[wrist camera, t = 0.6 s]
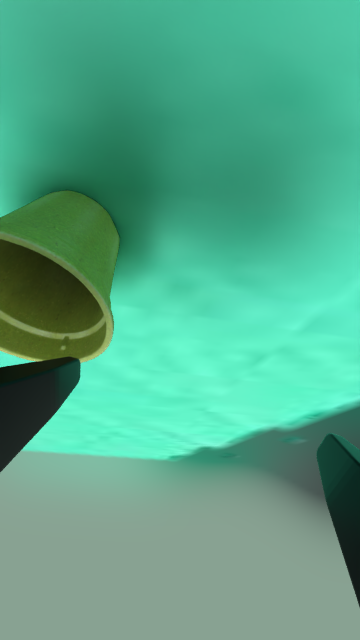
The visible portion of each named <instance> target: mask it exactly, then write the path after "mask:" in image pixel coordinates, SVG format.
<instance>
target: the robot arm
mask: <svg viewBox="0 0 360 640" xmlns="http://www.w3.org/2000/svg"><path fill="white" fill-rule="evenodd" d="M80 364H81V363H80V360H79V359H78V358H74V357H70V356H68V357H62V358H56V359H50V360H43V361H37V362H31V363H25V364H19V365H12V366H6V367H0V472H1V471H2V470H3V469H4V468H5V467H6V466H7V465H8V464H9V463H10V461H11V460H12V459H13V458H14V457H15V456H16V455H17V454H18V453H19V452H20V451H21V450H22V449H23V448H24V446H25V445H26V444H27V443H28V442H29V441H30V440H31V439H32V438H33V437H34V436H35V435H36V434H37V433H38V432H39V430H40V429H41V428H42V427H43V426H44V425H45V424H46V423H47V422H48V421H49V420H50V419H51V418H52V416H53V415H54V414H55V413H56V412H57V411H58V409H59V408H60V407H61V405H62V404H63V403H64V401H65V400H66V399H67V397H68V396H69V395H70V393H71V392H72V391H73V389H74V388H75V387H76V385H77V384H78V382H79V379H80ZM317 461H318V466H319V471H320V476H321V480H322V485H323V490H324V494H325V499H326V502H327V506H328V509H329V512H330V515H331V518H332V521H333V525H334V528H335V531H336V534H337V537H338V540H339V543H340V547H341V550H342V553H343V556H344V559H345V563H346V566H347V568H348V572H349V575H350V578H351V581H352V585H353V588H354V590H355V594H356V597H357V600H358V603H359V607H360V450H359V449H358V448H356V447H355V446H354V445H352V444H351V443H350V442H349V441H347V440H346V439H345V438H343V437H341V436H338V435H335V434H332V433H329V434H327V435H326V437H325V438H324V440H323V441H322V443H321V444H320V446H319V448H318V451H317Z"/></svg>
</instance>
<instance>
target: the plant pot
mask: <svg viewBox="0 0 360 640" xmlns="http://www.w3.org/2000/svg"><path fill="white" fill-rule="evenodd" d="M118 250H119V235H118V232H117V230H116V228H115V225H114V223H113V221H112V219H111V217H110V215H109V214H108V212H107V211H106V210H105V209H104V208H103V207H102V206H101V205H100V204H98V203H97V202H96V201H94V200H93V199H91V198H89V197H87V196H85V195H83V194H80V193H77V192H74V191H67V190H66V191H58V192H52V193H50V194H47V195H45V196H43V197H41V198H39V199H37V200H35V201H33V202H31V203H29V204H27V205H25V206H23V207H21V208H19V209H17V210H15V211H13V212H11V213H9V214H7V215H5V216H3V217H1V218H0V351H2V352H5V353H8V354H11V355H14V356H17V357H19V358H23V359H27V360H31V361H43V360H50V359H56V358H62V357H68V356H70V357H74V358H78V359H79V360H80V363H82V362H86V361H88V360H91V359H94V358H95V357H97V356H99V355H100V354H102V353H103V352H104V351H105V350H106V349H107V347H108V346H109V344H110V342H111V339H112V336H113V329H114V321H113V315H112V311H111V302H110V292H111V286H112V280H113V275H114V270H115V265H116V260H117V255H118Z"/></svg>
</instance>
